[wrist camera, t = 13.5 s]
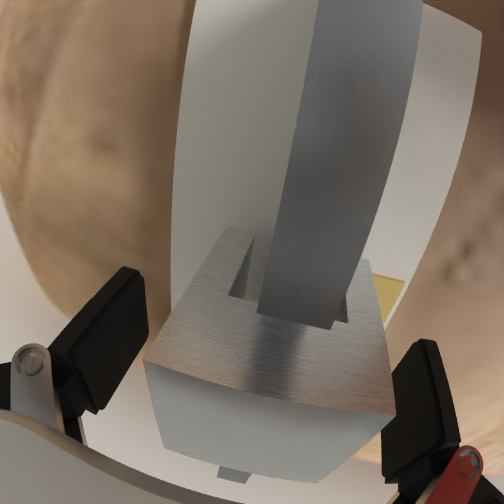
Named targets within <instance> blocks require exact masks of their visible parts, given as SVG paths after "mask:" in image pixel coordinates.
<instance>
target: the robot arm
mask: <svg viewBox="0 0 504 504" xmlns="http://www.w3.org/2000/svg"><path fill="white" fill-rule="evenodd" d="M148 335H149V327H148V318H147V308H146V297H145V285H144V278H143V276H141V275H140V272H139V271H138V270H135V269H132V268H128V267H125V266H124V267H122V268H120V269H119V270H118V272H117V273H116V274H115V275H114V276H113V277H112V278H111V279H110V280H109V281H108V282H107V283H106V284H105V285H104V286H103V287H102V288H101V289H100V290H99V291H98V292H97V294H96V295H95V296H94V297H93V298H91V299H90V300H89V301H88V302H87V304H86V305H85V306H84V307H83V308H82V309H81V310H80V311H79V312H78V314H77V315H76V316H75V317H74V318H73V319H72V320H71V321H70V323H69V324H68V325H67V326H66V327H65V328H64V329H63V331H62V332H61V333H60V334H59V335H58V336H57V338H56V339H55V340H54V341H53V342H52V344H51V345H50V346H49V347H48V348H45V347H44V346H42V345H40V344H37V343H34V344H33V343H31V344H27V345H24V346H22V347H21V348H19V349H18V351H16V352H15V354H14V356H13V358H12V362H8V363H3V364H0V504H243V503H238V502H233V501H229V500H225V499H221V498H217V497H213V496H210V495H206V494H202V493H199V492H196V491H192V490H189V489H186V488H183V487H180V486H177V485H174V484H171V483H168V482H165V481H163V480H160V479H157V478H155V477H152V476H149V475H147V474H145V473H142V472H140V471H138V470H135V469H133V468H131V467H128V466H126V465H124V464H122V463H120V462H117V461H115V460H113V459H111V458H109V457H107V456H105V455H103V454H101V453H99V452H97V451H95V450H93V449H91V448H89V447H88V446H87V442H86V437H85V433H84V429H83V424H82V419H81V416H82V414H83V413H84V411H85V410H87V411H89V412H91V413H93V414H95V415H96V414H97V412H98V411H99V409H100V410H103V409H104V408H105V407H106V406H107V404H108V402H109V400H110V399H111V397H112V395H113V394H114V392H115V390H116V389H117V387H118V385H119V384H120V382H121V380H122V379H123V377H124V375H125V374H126V372H127V371H128V369H129V367H130V366H131V364H132V363H133V361H134V359H135V358H136V356H137V355H138V353H139V351H140V350H141V348H142V347H143V345H144V343H145V342H146V340H147V338H148ZM391 375H392V382H393V390H394V399H395V408H396V416H395V417H394V418H393V419H392V420H391V421H390V422H389V423H388V424H387V425H386V426H385V427H384V428H383V429H382V430H381V453H382V476H383V477H385V484H393V483H398V490H397V492H396V493H395V494H394V495H393V497H392V498H391V499H390V500H389V501H388V503H387V504H504V495H503V494H502V493H501V492H500V491H499V490H498V489H497V488H496V487H495V486H493V485H492V484H491V483H490V482H489V481H488V480H487V479H486V478H485V477H484V476H483V475H482V471H483V460H482V457H481V455H480V453H479V451H478V450H477V449H476V448H474V447H472V446H468V445H466V446H462V447H459V443H460V442H461V438H460V432H459V427H458V422H457V417H456V413H455V408H454V404H453V399H452V395H451V391H450V387H449V384H448V380H447V376H446V372H445V369H444V365H443V362H442V359H441V355H440V352H439V349H438V346H437V343H436V342H435V341H433V340H427V339H419V340H418V341H417V342H414V343H413V344H412V345H411V347H410V348H409V350H408V351H407V353H406V354H405V356H404V357H403V358H402V360H401V361H400V363H399V364H398V365H397V367H396V368H395V369H394V371H393V372H392V373H391Z"/></svg>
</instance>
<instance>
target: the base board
mask: <svg viewBox="0 0 504 504" xmlns="http://www.w3.org/2000/svg"><path fill="white" fill-rule="evenodd" d="M318 2H319V0H196V4H195V9H194V14H193V20H192V25H191V31H190V36H189V42H188V48H187V55H186V61H185V68H184V75H183V83H182V90H181V99H180V107H179V116H178V126H177V137H176V148H175V161H174V176H173V194H172V217H171V312H172V311H173V309H174V307H175V306H176V304H177V303H178V301H179V300H180V298H181V296H182V295H183V293H184V292H185V290H186V288H187V287H188V285H189V284H190V282H191V281H192V279H193V278H194V276H195V274H196V273H197V271H198V270H199V268H200V267H201V265H202V264H203V262H204V261H205V259H206V257H207V256H208V254H209V253H210V251H211V250H212V248H213V247H214V245H215V244H216V242H217V241H218V239H219V238H220V236H221V235H222V233H223V232H224V230H225V229H226V227H227V226H228V227H233V228H237V229H242V230H246V231H251V232H255V239H254V244H253V250H252V256H251V262H250V267H249V273H248V279H247V285H246V290H245V296H244V300H248V301H252V302H256V303H259V298H260V294H261V289H262V285H263V280H264V276H265V271H266V267H267V262H268V257H269V253H270V248H271V244H272V239H273V234H274V230H275V225H276V220H277V215H278V211H279V206H280V201H281V196H282V191H283V186H284V182H285V177H286V172H287V167H288V162H289V157H290V152H291V147H292V142H293V137H294V132H295V127H296V122H297V116H298V111H299V106H300V101H301V96H302V90H303V85H304V80H305V74H306V69H307V64H308V58H309V53H310V47H311V42H312V36H313V31H314V25H315V19H316V14H317V8H318ZM481 43H482V32H481V31H479V30H477V29H476V28H474V27H472V26H470V25H468V24H467V23H465V22H463V21H461V20H459V19H457V18H455V17H453V16H451V15H449V14H447V13H445V12H443V11H441V10H438V9H436V8H434V7H432V6H429V5H427V4H425V3H423V7H422V17H421V25H420V33H419V40H418V47H417V53H416V60H415V65H414V71H413V76H412V82H411V87H410V92H409V96H408V101H407V106H406V110H405V115H404V119H403V123H402V127H401V131H400V135H399V139H398V143H397V147H396V150H395V154H394V158H393V161H392V165H391V168H390V172H389V175H388V178H387V182H386V185H385V188H384V191H383V195H382V198H381V201H380V204H379V207H378V210H377V213H376V216H375V219H374V222H373V225H372V228H371V231H370V233H369V236H368V239H367V242H366V244H365V247H364V250H363V253H362V255H361V258H364V259H368V260H369V263H370V267H371V271H372V275H373V279H374V283H375V288H376V292H377V297H378V301H379V306H380V311H381V316H382V321H383V326H384V330H385V328H386V327H387V325H388V323H389V321H390V320H391V318H392V316H393V314H394V312H395V311H396V309H397V307H398V305H399V303H400V301H401V299H402V297H403V296H404V294H405V292H406V290H407V288H408V286H409V284H410V282H411V280H412V278H413V276H414V273H415V271H416V269H417V267H418V265H419V263H420V261H421V258H422V256H423V254H424V252H425V250H426V247H427V245H428V243H429V240H430V238H431V236H432V233H433V231H434V228H435V226H436V223H437V221H438V218H439V216H440V213H441V210H442V208H443V205H444V202H445V200H446V197H447V194H448V191H449V188H450V185H451V182H452V179H453V176H454V173H455V170H456V166H457V163H458V160H459V156H460V153H461V149H462V146H463V142H464V138H465V134H466V130H467V126H468V122H469V118H470V113H471V109H472V104H473V99H474V93H475V88H476V82H477V75H478V69H479V61H480V53H481Z"/></svg>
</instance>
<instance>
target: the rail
mask: <svg viewBox="0 0 504 504" xmlns="http://www.w3.org/2000/svg"><path fill="white" fill-rule="evenodd" d="M422 7H423V0H319V2H318V8H317V14H316V19H315V25H314V31H313V36H312V42H311V47H310V53H309V58H308V64H307V69H306V74H305V80H304V85H303V90H302V96H301V101H300V106H299V111H298V116H297V122H296V127H295V132H294V137H293V142H292V147H291V152H290V157H289V162H288V167H287V172H286V177H285V182H284V186H283V191H282V196H281V201H280V206H279V211H278V215H277V220H276V225H275V230H274V234H273V239H272V244H271V248H270V253H269V257H268V262H267V267H266V271H265V276H264V280H263V285H262V289H261V294H260V298H259V303H258V307H257V312H256V313H258V314H262V315H266V316H270V317H274V318H278V319H282V320H287V321H291V322H295V323H300V324H304V325H308V326H313V327H317V328H322V329H327V330H331V327H332V325H333V323H334V321H335V318H336V316H337V314H338V312H339V309H340V307H341V305H342V302H343V300H344V298H345V295H346V293H347V291H348V288H349V286H350V283H351V281H352V278H353V276H354V273H355V271H356V268H357V266H358V263H359V260H360V258H361V255H362V253H363V250H364V247H365V244H366V242H367V239H368V236H369V233H370V231H371V228H372V225H373V222H374V219H375V216H376V213H377V210H378V207H379V204H380V201H381V198H382V195H383V191H384V188H385V185H386V182H387V178H388V175H389V172H390V168H391V165H392V161H393V158H394V154H395V150H396V147H397V143H398V139H399V135H400V131H401V127H402V123H403V119H404V115H405V110H406V106H407V101H408V96H409V92H410V87H411V82H412V76H413V71H414V65H415V60H416V53H417V47H418V40H419V33H420V25H421V17H422ZM251 474H252V473H248V472H244V471H239V470H235V469H231V468H227V467H223V466H220V467H219V471H218V476H217V477H219V478H223V479H226V480H231V481H235V482H239V483H243V484H245V483H246V481H247V480H248V478H249V477H250V475H251Z"/></svg>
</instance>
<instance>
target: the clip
mask: <svg viewBox="0 0 504 504" xmlns="http://www.w3.org/2000/svg"><path fill="white" fill-rule="evenodd" d="M254 239H255V232H251V231H246V230H242V229H237V228H233V227H228V226H227V227H226V229H225V230H224V232H223V233H222V235H221V236H220V238H219V239H218V241H217V242H216V244H215V245H214V247H213V248H212V250H211V251H210V253H209V254H208V256H207V257H206V259H205V261H204V262H203V264H202V265H201V267H200V268H199V270H198V271H197V273H196V274H195V276H194V278H193V279H192V281H191V282H190V284H189V285H188V287H187V288H186V290H185V292H184V293H183V295H182V296H181V298H180V300H179V301H178V303H177V304H176V306H175V307H174V309H173V311H172V312H171V314H170V315H169V317H168V319H167V320H166V322H165V324H164V325H163V327H162V328H161V330H160V332H159V333H158V335H157V337H156V338H155V340H154V341H153V343H152V345H151V346H150V348H149V350H148V351H147V353H146V355H145V356H144V358H143V362H144V367H145V372H146V377H147V381H148V386H149V391H150V395H151V399H152V404H153V408H154V412H155V416H156V420H157V423H158V427H159V431H160V434H161V438H162V442H163V445H164V448H166V449H168V450H171V451H174V452H177V453H180V454H183V455H186V456H189V457H192V458H195V459H198V460H202V461H205V462H208V463H212V464H216V465H219V466H223V467H227V468H231V469H235V470H239V471H244V472H248V473H253V474H258V475H263V476H268V477H274V478H280V479H286V480H294V481H301V482H309V483H317V482H319V481H320V480H322V479H323V478H324V477H326V476H327V475H328V474H330V473H331V472H332V471H333V470H335V469H336V468H337V467H339V466H340V465H341V464H343V463H344V462H345V461H346V460H348V459H349V458H350V457H351V456H352V455H354V454H355V453H356V452H357V451H358V450H360V449H361V448H362V447H363V446H364V445H365V444H366V443H368V442H369V441H370V440H371V439H372V438H373V437H374V436H375V435H376V434H377V433H379V432H380V431H381V430H382V429H383V428H384V427H385V426H386V425H387V424H388V423H389V422H390V421H391V420H392V419H393V418H394V417H395V416H396V408H395V399H394V390H393V382H392V375H391V368H390V361H389V355H388V349H387V343H386V337H385V332H384V326H383V321H382V316H381V311H380V306H379V301H378V297H377V292H376V288H375V283H374V279H373V275H372V271H371V267H370V263H369V260H368V259H364V258H360V260H359V263H358V266H357V268H356V271H355V273H354V276H353V278H352V281H351V283H350V286H349V288H348V291H347V293H346V295H345V298H344V300H343V302H342V305H341V307H340V309H339V312H338V314H337V316H336V318H335V321H334V323H333V325H332V327H331V330H327V329H322V328H317V327H313V326H308V325H304V324H300V323H295V322H291V321H287V320H282V319H278V318H274V317H270V316H266V315H262V314H258V313H256V312H257V307H258V303H256V302H252V301H248V300H244V296H245V290H246V285H247V279H248V273H249V267H250V262H251V256H252V250H253V244H254Z"/></svg>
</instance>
